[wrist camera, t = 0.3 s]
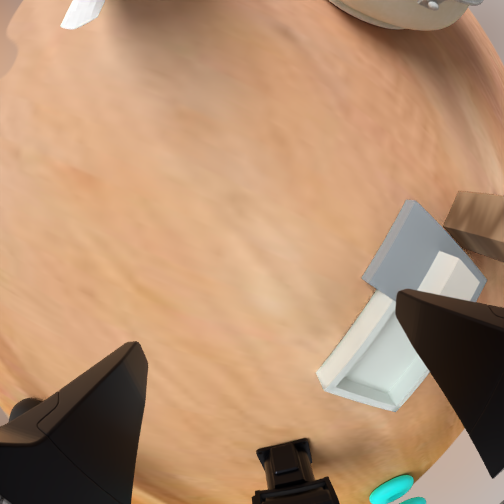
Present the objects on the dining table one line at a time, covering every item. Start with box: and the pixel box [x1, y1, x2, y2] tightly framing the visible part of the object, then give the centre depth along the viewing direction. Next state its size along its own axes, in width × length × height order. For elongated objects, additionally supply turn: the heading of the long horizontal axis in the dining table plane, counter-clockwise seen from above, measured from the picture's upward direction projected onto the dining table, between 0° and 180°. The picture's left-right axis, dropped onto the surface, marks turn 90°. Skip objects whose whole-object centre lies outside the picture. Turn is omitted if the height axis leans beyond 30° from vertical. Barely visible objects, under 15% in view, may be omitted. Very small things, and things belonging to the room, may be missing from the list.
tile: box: [417, 251, 480, 301], centre depth 22 cm, size 5×5×3 cm
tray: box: [316, 289, 430, 412], centre depth 24 cm, size 10×12×3 cm
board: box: [362, 200, 487, 302], centre depth 24 cm, size 8×16×2 cm, turn 59°
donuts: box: [369, 475, 426, 504], centre depth 31 cm, size 10×10×10 cm
